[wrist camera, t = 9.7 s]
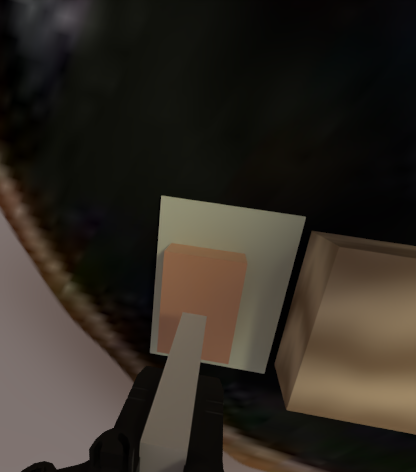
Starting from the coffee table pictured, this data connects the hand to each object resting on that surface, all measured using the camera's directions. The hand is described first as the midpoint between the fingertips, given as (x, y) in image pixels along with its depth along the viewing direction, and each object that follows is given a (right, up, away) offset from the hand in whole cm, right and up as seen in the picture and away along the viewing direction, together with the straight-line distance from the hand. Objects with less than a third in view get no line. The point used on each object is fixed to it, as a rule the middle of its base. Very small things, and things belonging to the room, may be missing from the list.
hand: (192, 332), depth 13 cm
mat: (+2, +1, +5) cm, 5 cm away
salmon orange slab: (0, 0, +3) cm, 3 cm away
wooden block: (+17, -1, +4) cm, 17 cm away
